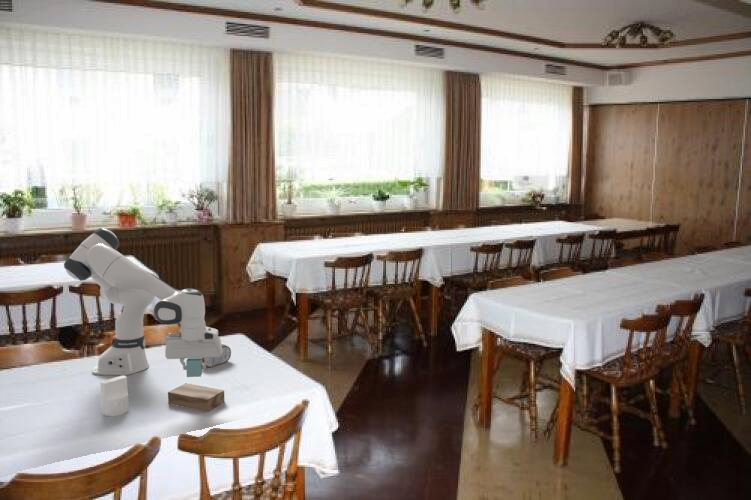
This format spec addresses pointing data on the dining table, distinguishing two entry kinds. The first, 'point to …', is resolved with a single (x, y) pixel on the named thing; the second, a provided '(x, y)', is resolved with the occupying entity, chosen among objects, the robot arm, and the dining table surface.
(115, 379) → the cylinder with rectangular tab
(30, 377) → the dining table surface
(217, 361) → the tin
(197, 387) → the walnut block
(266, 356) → the dining table surface
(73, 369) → the dining table surface
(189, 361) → the teal cube
